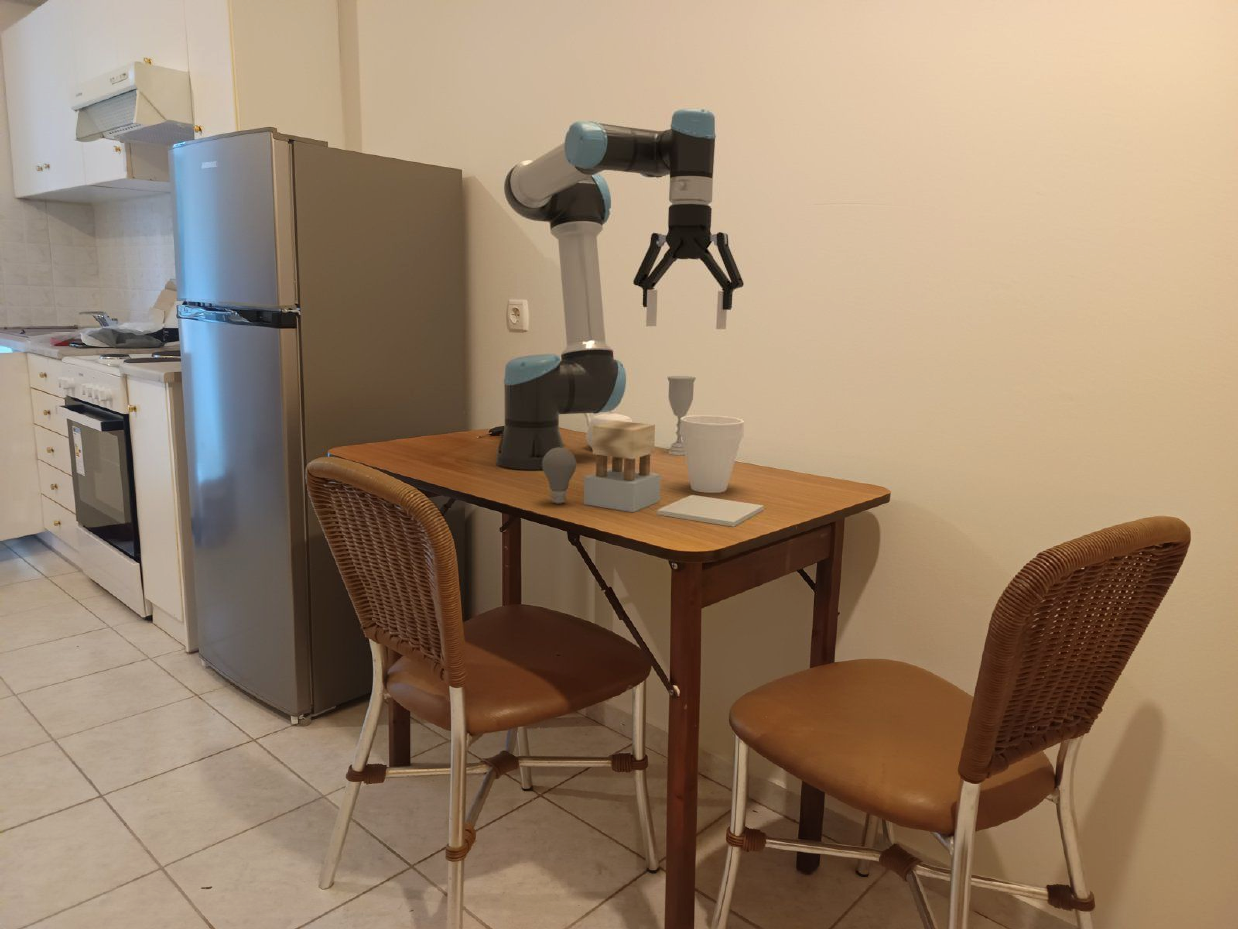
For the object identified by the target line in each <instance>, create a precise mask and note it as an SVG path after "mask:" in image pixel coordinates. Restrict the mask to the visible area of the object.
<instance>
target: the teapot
mask: <svg viewBox="0 0 1238 929" xmlns="http://www.w3.org/2000/svg"><path fill="white" fill-rule="evenodd" d="M617 408H618V407H616V408H615V409H614V410H612V411H609V412H608V413H607V412H606V413H604V414H598V415H594V416H593V417H592V418H591V417H590V413H582V414H583V415H584V417H585V419H586V424H587V431H586V434H585V440H586V443H587V445H589V446H590V448H591V449H592V450H593V426H595V425H599V424H604V423H608V422H613V421H623V422H632V423H634V422H633V420H632V418H631V417H630V416H628V415H623V414H621V413H619V414H618V413H617V412H616V411H617Z"/></svg>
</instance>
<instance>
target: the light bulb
mask: <svg viewBox="0 0 1238 929" xmlns="http://www.w3.org/2000/svg"><path fill="white" fill-rule="evenodd" d="M542 468H543V469H542V470H543V474H544V475H545V477H546V478H547V481H548V485H549V488H550V490H551V491H550V494H551V496H550V497H551V499H550V501H551V502H553V503H555V504H556V505H560V504H563V503H565V502H566V501H567V490H568V488H569V484H570V482H571V479H572V477H573V475H574V474H575V472H576V469H577V461H576V458H575V456H574V454H573V453H572V452H571V451H570V449H567V448H565V447H564V448H560V447H558V448H553V449H551V450H550V451H548V452H547V453H546V455H545V456H544V458H543V461H542Z"/></svg>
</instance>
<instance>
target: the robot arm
mask: <svg viewBox="0 0 1238 929" xmlns="http://www.w3.org/2000/svg"><path fill="white" fill-rule="evenodd" d="M715 118H716V117H715V114H714V113H712V111H710V110H708V109H702V108H682V109H678V110H676V111H674V112H673V114H672V116H671V122H670V128H669V129H665V130H653V129H645V128H635V127H629V126H621V125H615V124H614V125H613V124H608V123H607V124H606V123H601V122H597V121H593V120H592V121H574V122H573V123H572V124H571V125H569V128H568V130H567V131H566V133H565V137H564V142H562V143H561V144H559V145H558V146H556V147H554V148H553V149H551V150H549V151H548V152H546V153H545V154H542V155H541V156H539V157H537V158H536V159H528V160H527V159H526V160H523V161H521V162H519V163H518V164H516V165H515V166H514V167H512V168H511V169H510V170H509V171H508V173H507V175H506V176H505V179H504V184H503V188H504V189H503V191H504V196H505V199H506V201H507V203H508V205H509V206H510V208H511V209H512V210H513V211H514V212H516V213H517V214H518V215H519V216H521V217H522V218H525V219H527V220H530V221H531V220H532V221H533V222H534V221H535V222H547V223H549V228H550V234H551V235H552V236H553V237H554V238H555V239H557V242H558V252H559V254H558V256H559V265H560V266H559V267H560V277H561V279H560V280H561V288H562V290H561V291H562V301H563V303H562V304H563V312H564V325H565V334H566V335H565V337H566V347H565V349H564V350H563V351H562V352H561V353H560V355H558V354H557V353H556V354H555V353H545V354H532V355H523V356H520V357H519V356H518V357H514V358H513V359H510V360H508V362H507V363H506V364H505V369H504V379H503V386H504V428H503V429H504V430H503V431H502V435H501V438H500V442H499V443H498V444H499V445H498V449H497V450H496V454H495V456H496V465H497V466H500V467H503V468H508V469H513V470H529V471H531V470H543V468H542V461H543V458H544V456H545V455H546V453H547V452H548V451H550V450H551V449H553V448H558V447H560V448H565V445H564V441H563V439H562V436H561V431H560V425H559V424H560V423H559V422H560V420H559V419H560V416H559V415H574V414H583V413H588V414H595V415H596V414H599V413H607V412H608V413H609V411H612V410H614V409H615V408H618V407H619V405H620V404H621V401H622V399H623V398H624V394H625V391H626V387H627V386H626V385H627V374H626V369H625V366H624V365H623V362H621V360H618V359H616V358H615V357H614V350H613V349H612V348H611V347H610V346H609V345H608V344H607V342H606V335H605V334H606V332H605V331H606V330H605V322H604V308H603V298H602V295H603V294H602V283H601V274H600V272H601V271H600V262H599V261H600V260H599V249H598V248H599V247H598V240H597V239H598V238H597V237H598V236H599V235H600V233H601V232H603V225H605V224H606V223H607V221H608V220H609V217H610V214H611V211H610V209H611V208H612V198H611V192H610V188H609V185H608V183H607V181H606V180H605V178H604V176H602V175H601V174H600V173H601V172H603V171H614V172H623V173H624V172H625V173H633V174H640V175H641V176H642V177H645V178H657V179H658V178H662V177H666V176H669V188H668V189H669V193H668V194H669V195H668V196H669V197H668V201H669V202H670V203H671V205H669V207H668V215H667V216H668V219H667V222H668V223H667V226H668V230H667V234H666V235H665V234H661V233H656V232H653V233H652V234H651V235H650V241H649V247H648V248H647V251H646V253H645V256H644V257H643V260H642V262H641V264H640V266H639V268H638V270H637V272H636V274H635V277H634V278H633V285H634V286H637V287H639V288H641V289H642V306H643V308H646V316H645V317H646V320H645V323H646V324H645V327H657V315H658V314H657V313H658V289H655V287H656V285H657V284H658V283H659V281H660V280H661V279H662V278H663V276H664V275H665V274H666V273H667V271H668V270H669V269H670V268H671V266H672V265H673V264H674V262H676V261H677V260H700V262H702V263H703V264H704V265H705V266H706V268H707V270H709V272H710V273H711V275H712V277H713V278H714V279H715V280H716V282H717V283H718V285H719V286H720V288H721V290H722V291H721V290H718V291H717V303H716V326H715V329H716V330H726V328H727V313H728V310H730V311H731V310H732V308H733V293H734V291H735V290H737V289H739V288H742V287H744V285H745V283H744V281H743V277H742V276H741V275H742V274H741V273H740V270H739V269H738V266H737V264H736V261H735V259H734V256H733V253H732V250H731V249H730V247H729V246H730V245H729V235H728V234H727V233H725V232H721V231H719V232H717V233H713V234H712V232H711V231H712V230H711V227H712V212H713V211H712V210H713V208H712V207H711V206H710V205H709V204H711V203H712V202H713V185H714V184H713V183H714V178H713V176H714V167H715V165H714V164H715V148H716V137H717V135H716V120H715ZM665 243H666V244H667V246H668V247H669V248H668V249H667V250H666V251H665V253H664V254H663V257H662V258H661V260H660V261H659V262H658V264H656V266H655V267H654V265H655V263H656V260H657V259H658V256H659V254H660V252H661V250H662V247H664V245H665ZM712 243H713V244H714V246H716V248H717V251H718V253H719V256H720V257H721V261H722V262H723V265H724V268H725V270H726V273H727V275H728V277H727V275H726V274H725V272H724V270H722V268H721V267H720V265H719V264H718V262H717V261H716V260H715V258H714V256H713V254H712V253H711V252H710V250H709V249H708V248H709V247H710V245H712ZM652 269H653V270H652Z"/></svg>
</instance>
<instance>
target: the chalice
mask: <svg viewBox="0 0 1238 929" xmlns="http://www.w3.org/2000/svg"><path fill="white" fill-rule="evenodd" d="M666 378H667V380H668V401H669V406H670V408H671V410H672V413H673V415H674V416H676V417H677V424H676V427H677V431H676V432H675V434H676V436H677V438H676V441H675V442H672V443H671V445H670V447H669V450H668V452H667V454H669V455H675V456H677V455H678V456H685V452H684V447H683V442H682V436H681V435H680V434H679V433H680V424H681V421H680V418H681V417H684V416H687V414H688V411H689V410H690V408H691V405H692V402H693V400H694V390H695V389H694V385H695V381H696V379H697V377H695V376H688V375H687V376H686V375H668V376H667V377H666Z"/></svg>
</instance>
